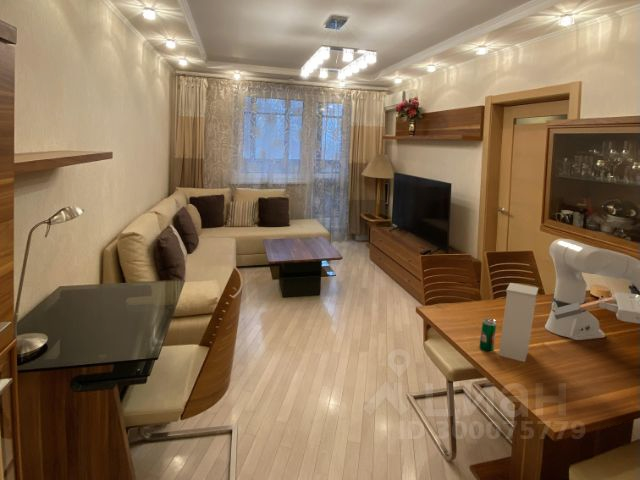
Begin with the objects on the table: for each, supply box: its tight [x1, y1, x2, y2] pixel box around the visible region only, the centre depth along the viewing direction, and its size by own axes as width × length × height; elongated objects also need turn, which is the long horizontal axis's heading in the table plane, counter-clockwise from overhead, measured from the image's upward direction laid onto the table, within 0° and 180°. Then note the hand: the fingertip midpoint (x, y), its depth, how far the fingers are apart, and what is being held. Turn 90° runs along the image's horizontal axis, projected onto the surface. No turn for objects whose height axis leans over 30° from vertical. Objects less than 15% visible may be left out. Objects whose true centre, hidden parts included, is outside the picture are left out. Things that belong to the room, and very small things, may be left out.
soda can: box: [478, 317, 497, 353], centre depth 161 cm, size 5×5×12 cm
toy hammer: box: [554, 296, 615, 319], centre depth 144 cm, size 18×8×2 cm, turn 56°
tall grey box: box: [498, 282, 539, 363], centre depth 156 cm, size 10×10×26 cm
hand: (599, 302), depth 141 cm, fingers closed on toy hammer, 3 cm apart
